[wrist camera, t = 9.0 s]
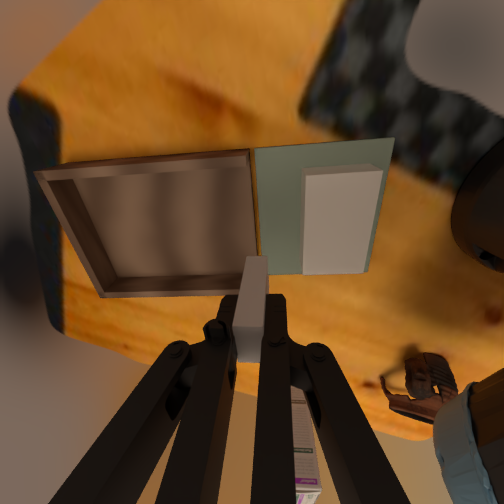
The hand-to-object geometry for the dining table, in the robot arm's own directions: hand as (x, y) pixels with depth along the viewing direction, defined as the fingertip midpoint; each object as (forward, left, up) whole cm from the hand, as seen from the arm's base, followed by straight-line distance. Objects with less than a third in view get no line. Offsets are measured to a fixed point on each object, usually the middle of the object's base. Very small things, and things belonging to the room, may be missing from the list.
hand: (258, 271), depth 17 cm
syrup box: (-2, +29, -9) cm, 30 cm away
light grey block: (-7, 0, -9) cm, 11 cm away
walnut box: (+10, 0, -9) cm, 13 cm away
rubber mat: (-6, 0, -9) cm, 11 cm away
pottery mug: (-21, +25, -10) cm, 35 cm away
